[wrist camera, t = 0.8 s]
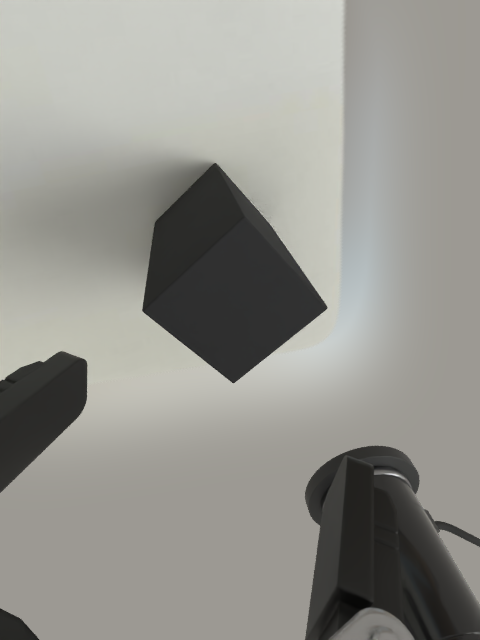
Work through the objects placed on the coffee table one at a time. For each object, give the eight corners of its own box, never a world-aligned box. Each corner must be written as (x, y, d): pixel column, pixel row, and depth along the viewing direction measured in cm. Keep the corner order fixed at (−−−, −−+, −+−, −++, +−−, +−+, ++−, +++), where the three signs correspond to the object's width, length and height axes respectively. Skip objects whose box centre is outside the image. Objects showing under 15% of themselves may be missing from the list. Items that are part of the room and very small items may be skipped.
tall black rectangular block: (270, 224, 25) (329, 308, 15) (212, 277, 26) (233, 384, 17) (215, 161, 23) (244, 215, 13) (154, 222, 24) (141, 311, 14)
